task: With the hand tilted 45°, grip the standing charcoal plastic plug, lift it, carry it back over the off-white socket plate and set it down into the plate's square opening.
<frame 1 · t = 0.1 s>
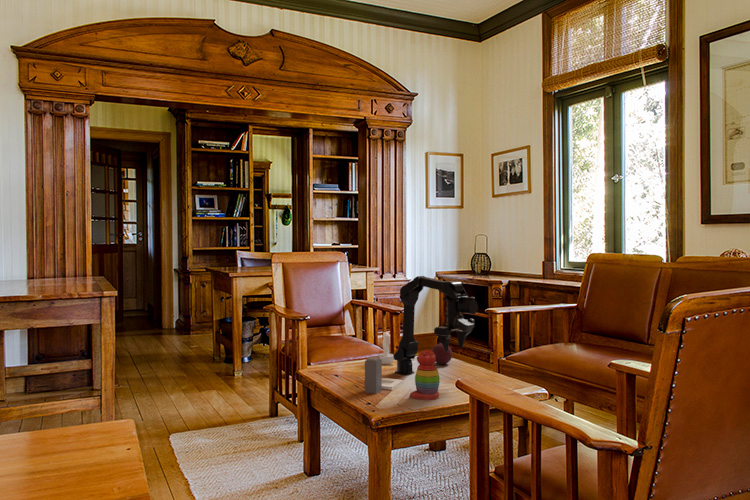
hand: (453, 349, 224), 15 cm above the table, tool pointing down, fingers open, 9 cm apart
decorative ball: (441, 364, 263), on the table
socket: (384, 384, 226), on the table
figurine: (386, 363, 266), on the table
stacking bear: (426, 397, 209), on the table
plug: (373, 391, 216), on the table
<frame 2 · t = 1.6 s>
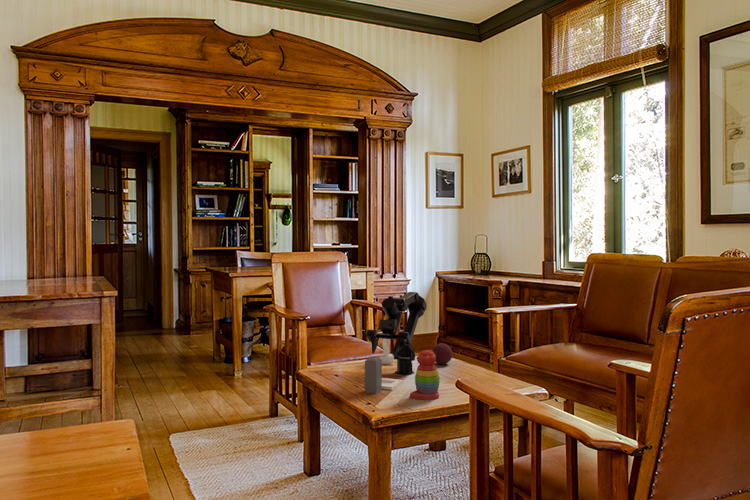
hand: (383, 354, 222), 13 cm above the table, tool tilted 45°, fingers open, 9 cm apart
nothing on the table moved.
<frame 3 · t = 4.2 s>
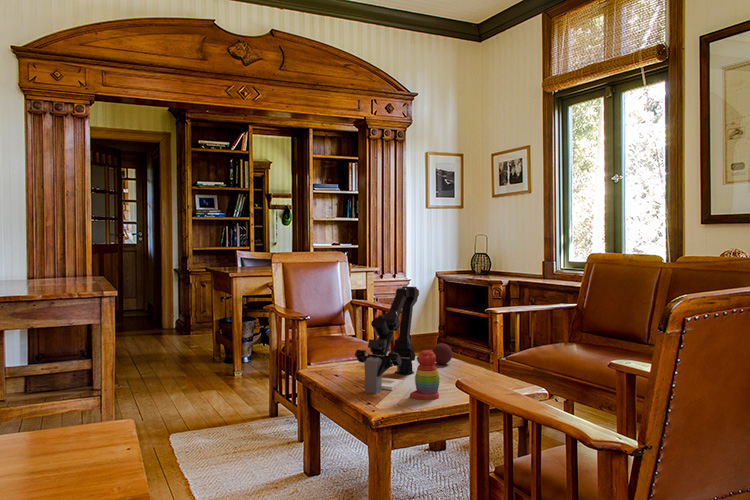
hand: (371, 375, 214), 7 cm above the table, tool tilted 45°, fingers closed on plug, 5 cm apart
plug: (373, 391, 216), on the table, touching gripper
everything else where it was.
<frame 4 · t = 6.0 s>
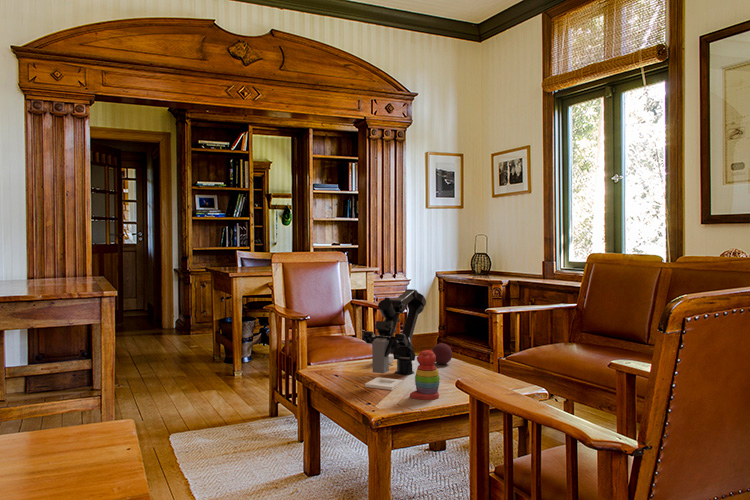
hand: (379, 356, 221), 13 cm above the table, tool tilted 45°, fingers closed on plug, 5 cm apart
plug: (380, 371, 222), point 6 cm above the table, touching gripper
everything else where it was.
when the fingers open (8 cm above the table, at t = 8.1 s): plug drops 1 cm, resting on socket.
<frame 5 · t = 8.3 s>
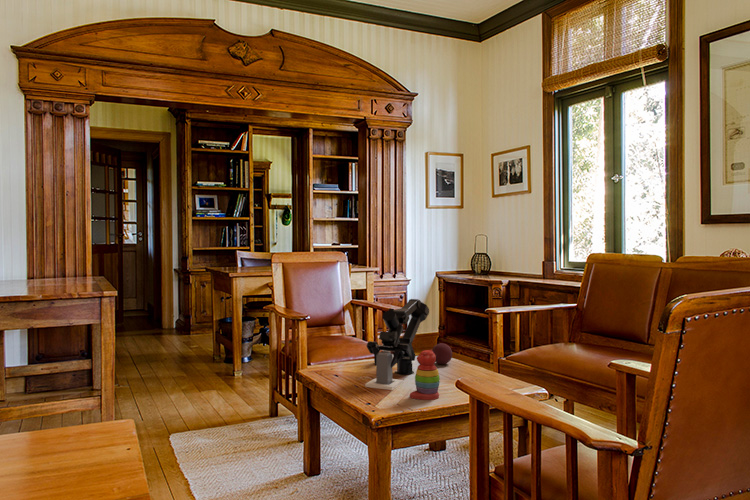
hand: (383, 366, 224), 8 cm above the table, tool tilted 45°, fingers open, 7 cm apart
plug: (384, 384, 226), resting on socket
everything else where it was.
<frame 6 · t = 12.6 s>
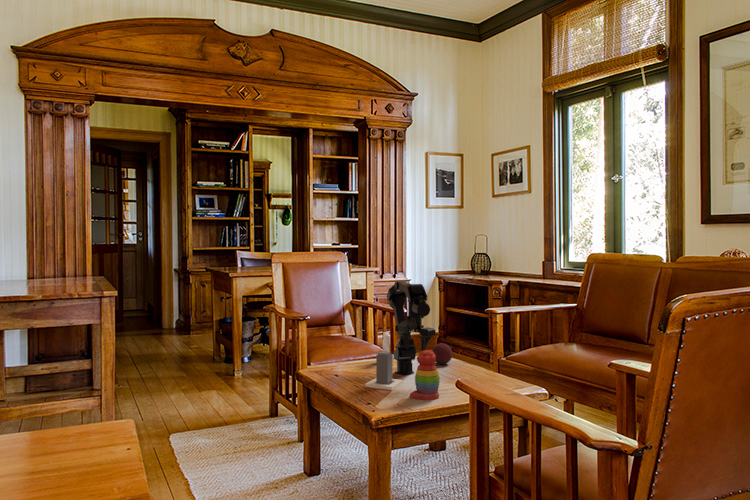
hand: (414, 350, 232), 13 cm above the table, tool pointing down, fingers open, 9 cm apart
nothing on the table moved.
at the end: plug 0.0 cm off-centre on the socket, point 0.2 cm above the socket's base; plug tilted 0°; the gripper is holding nothing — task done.
